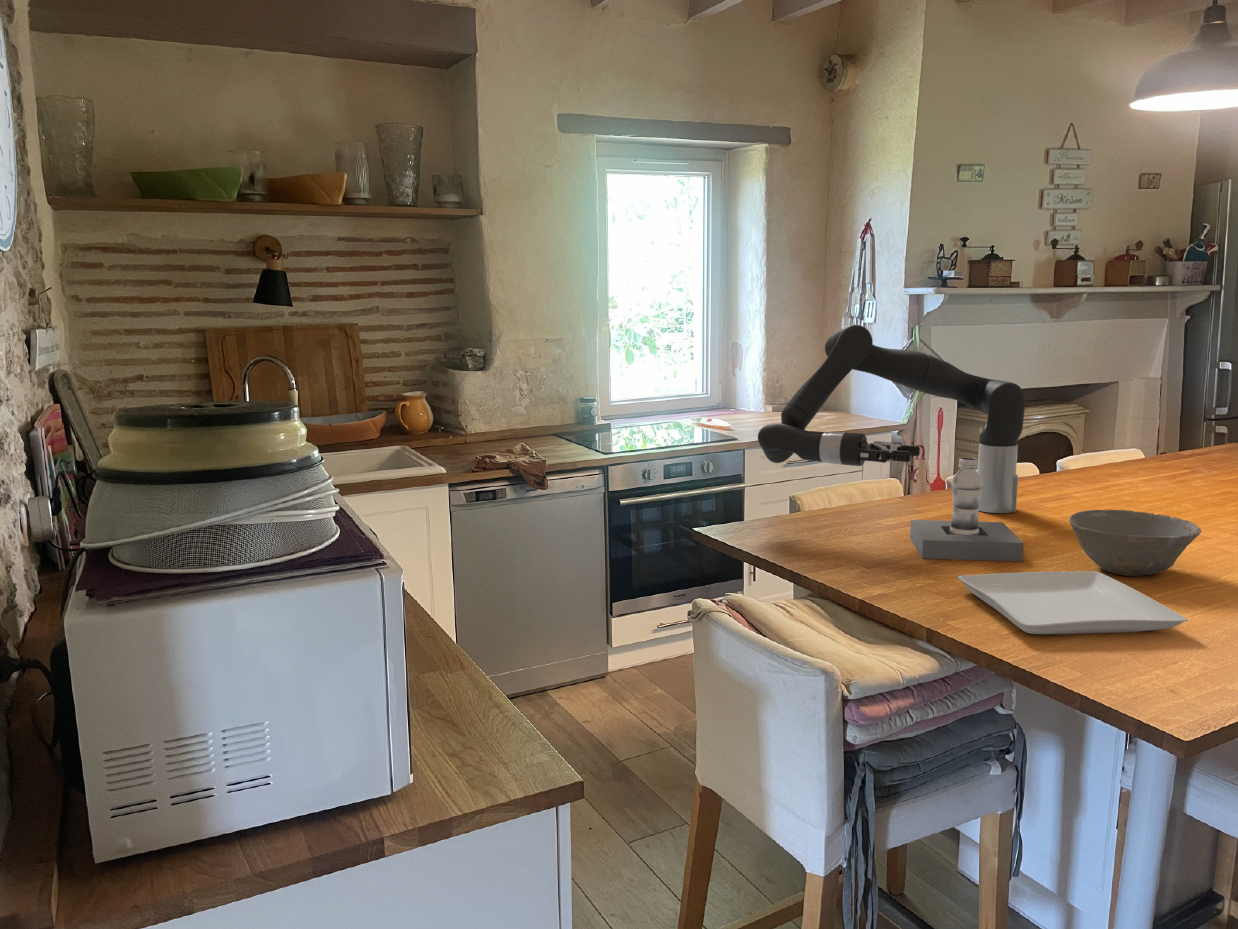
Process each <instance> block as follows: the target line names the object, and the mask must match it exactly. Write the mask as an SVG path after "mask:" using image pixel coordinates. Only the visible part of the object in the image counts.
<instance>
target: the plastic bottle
mask: <svg viewBox="0 0 1238 929" xmlns="http://www.w3.org/2000/svg"><path fill="white" fill-rule="evenodd" d="M958 468H959V469H958V471H957V472H956V473H955V474H954V476H953V477H952V478H951V479H952V480H951V484H950V485H951V494H952V515H951V520H950V521H951V526H950V529H949V534H948V535H979V529H978V522H979V510H978V507H979V500H980V495H981V491H982V485H983V483H982V479H981V477H980V476H979V474H978V473H977V468H978V458H976V457H967V456H966V457H960V458H959V459H958ZM979 536H980V535H979Z"/></svg>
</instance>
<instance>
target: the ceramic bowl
mask: <svg viewBox="0 0 1238 929" xmlns="http://www.w3.org/2000/svg"><path fill="white" fill-rule="evenodd" d="M1068 522H1069V524H1070V526H1071V527H1072V529H1073V531H1074V534H1075V536H1076V539H1077V541H1078V543H1079V546H1080V548H1081V549H1082V550H1083V551H1084V553H1085V554H1086V556H1088V558H1089V559H1091V561H1093V562H1094V564H1095V565H1097V566H1098V567H1099V568H1101V569H1102V570H1103V571H1105V572H1108V573H1111V574H1114V575H1117V576H1119V575H1120V576H1125V577H1129V576H1130V577H1133V576H1134V577H1135V576H1136V577H1138V576H1150V575H1157V574H1159V573H1162V572H1165V571H1167V570H1168V569H1170V568H1171V567H1173V566H1174V564H1175V562H1176V561H1177V559H1178V558H1179V557H1180V556H1181V554H1182V553H1183V552H1184V551H1185V550H1186V548H1187V547H1188V546H1189V545H1190V544H1191V543H1192V542H1194V541H1195V539H1197V537H1199V536H1200V534H1201V533H1202V529H1201V528H1200V527H1199V525H1197V524H1196V523H1193V522H1191V521H1189V520H1185V519H1183V518H1179V517H1175V516H1172V517H1171V516H1170V515H1166V514H1165V515H1164V514H1161V513H1159V514H1158V513H1156V514H1155V513H1151V512H1145V511H1134V510H1130V509H1129V510H1127V509H1089V510H1083V511H1078V512H1076V513H1073V514H1071V515H1070V516H1069V518H1068Z"/></svg>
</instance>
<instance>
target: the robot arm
mask: <svg viewBox="0 0 1238 929" xmlns="http://www.w3.org/2000/svg"><path fill="white" fill-rule="evenodd" d="M824 352H825V355H826V356H827V357H826V359H825V360H824V362H823V363H822V364H821V365H820V367H818V369H817V370H816V371H815V372H814V373H813V374H812V375H811V376H810V377H809V378H808V379H807V380H806V381H805V382H804V383H803V384H802V385H801V386H800V387H799V388H798V390H796V392H795V393H794V395H793V396H791V398H790V399H789V401H788V402H787V404H786V405H785V406H784V408H783V409H782V411H781V414H780V415H781V416H780V417H781V418H780V420H781V423H779V422H774V423H773V422H772V423H769V424H766V425H764V426H762V428H760V430H759V431H758V433H757V440H758V441H757V442H758V444H759V446H760V447H761V450H762V451H763V454H764V455H765V457H766V458H767V460H769V462H771V463H773V464H780V463H783V462H786V461H787V460H788V459H790V458H791V457H792V456H793V454H795V455H797V456H798V458H800V459H801V460H803V461H808V462H818V463H819V462H823V463H827V464H832V465H843V466H852V467H861V466H863V465H864V464H865V462H877V463H883V464H885V463H887V462H888V463H890V462H893V461H894V462H902V463H909V462H910V461H911V459H912V458H911V457H919V456H920V455H921V448H920V446H918V445H907V444H906V445H905V444H903V442H894V441H880V440H875V441H873V442H870V443H868V439H867V436H866V434H865V433H861V432H860V433H859V432H845V431H818V430H816V431H813V430H806V428H807V427H808V425H809V424H810V423H811V422H812V421H813V419H814V418H815V416H816V415H817V414H818V412H819V411H820V410H821V408H822V407H823V406H824V404H825V403H826V401H827V400H828V399H829V398H830V396H831V395H832V393H833V392H834V391H835V389H836V388H837V387H838V386H839V385H840V383H841V382H842V381H843V380H844V379H845V378H846V377H847V375H849V373H850V372H851V371H852V370H853V371H858V372H863V373H867V374H870V375H874V376H877V377H879V378H882V379H885V380H887V381H889V382H893V383H896V384H898V385H902V386H904V387H906V388H909V389H912V390H914V391H917V392H921V393H924V394H927V395H930V396H931V395H932V396H935V397H938V398H945V399H950V400H955V401H957V402H960V403H962V404H964V405H967V406H969V407H971V408H973V409H975V410H977V411H980V412H981V413H984V414H986V415H987V421H986V427H985V429H984V430H982V431H980V432H979V437H978V454H977V468H976V471H977V473H978V474H979V476H980V477H981V479H982V483H983V485H982V491H981V495H980V500H979V507H978V512H982V513H983V512H985V513H989V514H990V513H991V514H1009V513H1016V512H1017V502H1018V501H1017V500H1018V499H1017V498H1018V487H1019V486H1018V485H1019V475H1018V474H1017V466H1018V465H1017V464H1018V450H1019V449H1018V448H1019V439H1020V436H1021V434H1022V432H1023V428H1024V427H1023V425H1024V417H1025V409H1026V408H1025V407H1026V397H1025V392H1024V390H1023V389H1022V388H1021V386H1020V385H1018V384H1016V383H1015V382H1011V381H1005V380H1000V379H993V378H992V379H990V378H987V377H983V376H982V377H981V376H978V375H973V374H971V373H967V372H965V371H963V370H961V369H960V368H958V367H956V366H955V365H953V364H952V363H950V362H948V361H946V360H944V359H941V358H939V357H936V356H934V355H933V356H932V355H930V354H927V353H924V352H921V351H915V350H907V349H897V348H888V347H881V346H879V345H875V344H873V337H872V334H871V332H870V330H868V329H867V328H866V327H864V326H863V325H860V324H850V325H846V326H844V327H842V328H841V329H839V330H837V331H836V332H834V333H833V334H832V335H830V336H829V337H828V339H827V340H826V342H825V344H824ZM895 448H896V450H894V449H895Z"/></svg>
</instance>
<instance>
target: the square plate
mask: <svg viewBox="0 0 1238 929" xmlns="http://www.w3.org/2000/svg"><path fill="white" fill-rule="evenodd" d="M957 579H958V580H959V581H960V582H961V583H962V585H964V587H965V588H966V589H967V590H969V592H971V593H972V594H973V595H974V596H976V597H978V599H980V600H982V601H983V602H984V603H986V604H987V605H989V606H990V607H992V608H993V609H995V611H997V612H999V614H1001V615H1002V616H1004V618H1006V619H1007V620H1009V621H1010V622H1011V623H1012V624H1014V626H1016V627H1017V628H1018V629H1020V630H1022V631H1023V633H1027V634H1029V635H1075V634H1109V633H1111V634H1112V633H1113V634H1114V633H1116V634H1117V633H1136V632H1137V633H1139V632H1145V631H1146V632H1147V631H1162V630H1167V629H1168V630H1169V629H1172V628H1176V627H1177V626H1179V625H1181V624H1182V623H1184V622H1188V618H1187V617H1185V616H1184V615H1181V614H1180V613H1179V612H1176V611H1175V610H1173V609H1171V608H1169V607H1168V606H1166V605H1164V604H1162V603H1161V602H1159V601H1157V600H1155V599H1153V598H1152V597H1150V596H1147V594H1144V593H1142V592H1140V591H1138V590H1137V589H1135V588H1132V587H1131V586H1129V585H1127V584H1124V583H1123V582H1121V581H1119V580H1116V579H1115V578H1112V577H1110V576H1108V575H1106V574H1104V573H1102V572H1099V571H1096V570H1095V571H1094V570H1090V571H1089V570H1088V571H1087V570H1085V571H1082V570H1081V571H1079V570H1078V571H1025V572H1024V571H1021V572H1019V571H1018V572H1000V573H997V572H996V573H984V574H968V575H967V574H964V575H958V576H957Z"/></svg>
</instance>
